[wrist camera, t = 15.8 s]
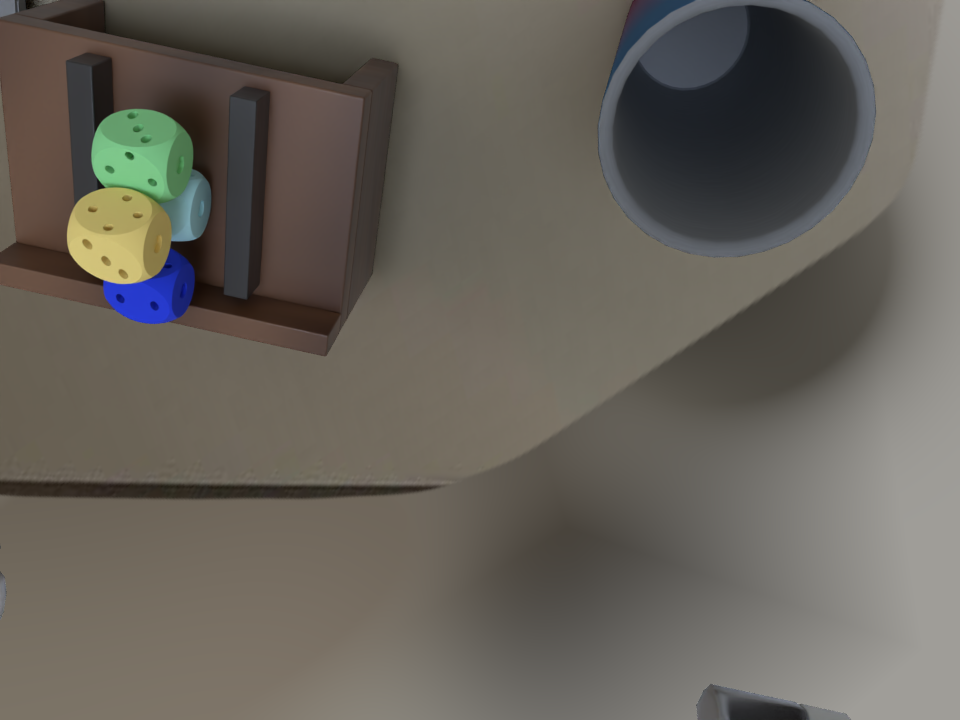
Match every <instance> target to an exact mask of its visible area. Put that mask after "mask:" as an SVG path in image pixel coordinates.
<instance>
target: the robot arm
mask: <svg viewBox="0 0 960 720" xmlns="http://www.w3.org/2000/svg"><path fill="white" fill-rule="evenodd" d="M5 598H6V585H5V577H4V575H3V574H2V573H1V572H0V619H1V617H2V614H3V612H4V605H5ZM696 706H697V717H698V720H851V719H850V718H849V717H848V715H847V714H844V713H840V712H835V711H831V710H826V709H822V708H817V707H813V706H808V705H804V704H797V703H796V702H792V701H787V700H783V699H778V698H773V697H769V696H764V695H759V694H755V693H750V692H745V691H740V690H736V689H731V688H727V687H721V686H717V685H713V684H710V685H709V686H708V687H707V688H706V689H705V690H704V691H703V693H702V695H701V697H700V699H699V701H698V703H697V705H696Z"/></svg>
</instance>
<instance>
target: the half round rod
mask: <svg viewBox="0 0 960 720" xmlns="http://www.w3.org/2000/svg"><path fill="white" fill-rule="evenodd" d="M24 10H26V3H25V0H0V17H3V16H6V15H10V14H14V13H17V12H20V11H24Z"/></svg>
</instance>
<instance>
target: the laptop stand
mask: <svg viewBox="0 0 960 720" xmlns="http://www.w3.org/2000/svg"><path fill="white" fill-rule="evenodd" d="M397 73H398V64H397V63H394V62H389V61H384V60H379V59H375V58H371V59H370V60H369V61H368V62H367V63H366V64H364V65H363V66H362V67H361V68H360V69H359V70H358V71H357V72H355V73H354V74H353V75H352V76H351V77H350V78H349V79H347V80H346V81H345V82H344V83H343V84H339V83H334V82H330V81H325V80H320V79H316V78H311V77H306V76H302V75H297V74H292V73H288V72H283V71H278V70H274V69H269V68H264V67H260V66H255V65H250V64H246V63H241V62H236V61H232V60H227V59H222V58H218V57H213V56H208V55H204V54H199V53H194V52H190V51H185V50H180V49H176V48H171V47H166V46H162V45H157V44H152V43H147V42H143V41H138V40H133V39H129V38H124V37H119V36H115V35H110V34H105V18H104V1H102V0H60V1H56V2H52V3H49V4H45V5H42V6H38V7H34V8H31V9H27V10H24V11H20V12H17V13H14V14H10V15H6V16H3V17H0V81H1V91H2V101H3V111H4V122H5V132H6V142H7V152H8V162H9V172H10V182H11V192H12V202H13V212H14V222H15V232H16V242H17V243H14V244H12V245H11V246H9V247H8V248H6V249H5V250H3V251H2V252H0V285H4V286H9V287H13V288H18V289H22V290H27V291H31V292H36V293H40V294H45V295H49V296H54V297H58V298H63V299H68V300H72V301H77V302H81V303H86V304H90V305H95V306H99V307H104V308H108V309H113V310H115V309H114V308H113V307H112V306H111V305H110V304H109V302H108V301H107V300H106V298H105V295H104V290H103V281H104V280H102V279H100V278H98V277H96V276H94V275H92V274H90V273H89V272H87V271H86V270H84V269H83V268H82V267H81V266H80V265H78V263H77V262H76V261H75V260H74V259H73V257H72V256H71V254H70V252H69V249H68V244H67V229H68V223H69V219H70V216H71V213H72V211H73V209H74V207H75V205H76V204H77V202H78V201H79V200H80V199H81V198H83V197H84V196H86V195H87V194H89V193H91V192H94V191H96V190H100V189H104V188H105V187H104V186H103V185H102V183H101V182H100V181H99V179H98V178H97V177H96V175H95V173H94V170H93V167H92V157H91V154H92V144H93V139H94V136H95V133H96V130H97V128H98V126H99V125H100V123H101V122H102V121H103V120H104V119H105V118H106V117H108V116H110V115H111V114H113V113H116V112H119V111H123V110H129V109H146V110H153V111H157V112H160V113H163V114H165V115H167V116H168V117H170V118H172V119H173V120H175V121H176V122H177V123H178V124H180V125H181V126H182V127H183V128H184V130H185V131H186V132H187V133H188V135H189V136H190V138H191V141H192V145H193V165H192V169H193V170H196V171H198V172H200V173H201V174H202V175H203V176H204V177H205V178H206V180H207V181H208V182H209V185H210V189H211V209H210V215H209V219H208V223H207V225H206V228H205V230H204V232H203V234H202V235H201V236H200V237H199V238H197V239H195V240H191V241H171V245H170V248H171V249H173V250H175V251H177V252H178V253H180V254H181V255H182V256H183V257H185V258H186V259H187V260H188V261H189V263H190V264H191V265H192V267H193V269H194V274H195V284H194V291H193V295H192V299H191V302H190V304H189V306H188V308H187V310H186V312H185V313H184V314H183V315H182V316H181V317H179V318H177V319H175V320H173V321H170V322H172V323H176V324H181V325H185V326H190V327H194V328H199V329H203V330H208V331H213V332H217V333H222V334H226V335H231V336H235V337H240V338H244V339H249V340H253V341H258V342H262V343H267V344H271V345H276V346H280V347H285V348H290V349H294V350H299V351H303V352H308V353H312V354H317V355H321V356H326V355H327V354H328V352H329V350H330V348H331V347H332V345H333V343H334V341H335V340H336V338H337V336H338V334H339V332H340V330H341V328H342V327H343V325H344V323H345V321H346V319H347V318H348V316H349V314H350V312H351V311H352V309H353V307H354V305H355V304H356V302H357V300H358V298H359V296H360V295H361V293H362V291H363V289H364V288H365V286H366V284H367V282H368V280H369V279H370V277H371V275H372V271H373V263H374V255H375V247H376V239H377V231H378V223H379V215H380V208H381V200H382V192H383V184H384V176H385V168H386V160H387V152H388V144H389V136H390V128H391V120H392V112H393V104H394V97H395V89H396V81H397Z"/></svg>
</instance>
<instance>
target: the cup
mask: <svg viewBox="0 0 960 720" xmlns="http://www.w3.org/2000/svg"><path fill="white" fill-rule="evenodd" d="M875 117H876V107H875V94H874V85H873V82H872V78H871V75H870V72H869V69H868V65H867V62H866V60H865V58H864V56H863V54H862V53H861V51H860V49H859V48H858V46H857V44H856V42H855V41H854V39H853V37H852V36H851V35H850V34H849V33H848V32H847V31H846V30H845V29H844V28H843V27H842V26H841V25H840V24H839V23H838V21H837V20H836V19H835V18H834V17H832V16H831V15H829V14H828V13H826V12H825V11H823V10H821V9H820V8H818V7H817V6H815V5H814V4H812V3H811V2H808V1H806V0H634V1H633V2H632V5H631V8H630V10H629V13H628V16H627V19H626V22H625V26H624V29H623V33H622V36H621V39H620V43H619V46H618V50H617V53H616V56H615V60H614V63H613V67H612V70H611V73H610V77H609V80H608V84H607V87H606V90H605V94H604V97H603V101H602V106H601V112H600V117H599V123H598V153H599V158H600V162H601V166H602V171H603V175H604V178H605V180H606V182H607V185H608V187H609V189H610V191H611V193H612V195H613V198H614V199H615V201H616V202H617V203H618V205H619V206H620V207H621V209H622V210H623V212H624V213H625V214H626V216H627V217H628V218H629V219H630V220H631V221H632V222H633V223H635V224H636V225H637V226H638V227H639V228H640V229H641V230H642V231H644V232H645V233H646V234H647V235H649V236H651V237H653V238H654V239H656V240H658V241H659V242H661V243H663V244H665V245H666V246H669V247H672V248H675V249H678V250H680V251H683V252H686V253H689V254H695V255H701V256H708V257H740V256H745V255H750V254H755V253H760V252H765V251H767V250H770V249H772V248H775V247H777V246H780V245H783V244H785V243H788V242H790V241H792V240H793V239H795V238H797V237H798V236H800V235H802V234H803V233H805V232H807V231H808V230H810V229H812V228H813V227H814V226H815V225H816V224H818V223H819V222H820V221H821V220H822V219H823V218H825V217H826V216H827V215H828V214H829V213H831V212H832V211H833V210H834V208H835V207H836V206H837V205H838V204H839V202H840V201H841V200H842V199H843V198H844V196H845V195H846V194H847V193H848V192H849V190H850V189H851V187H852V185H853V184H854V182H855V180H856V178H857V177H858V175H859V173H860V171H861V169H862V168H863V166H864V163H865V160H866V157H867V154H868V151H869V148H870V146H871V143H872V140H873V132H874V124H875Z"/></svg>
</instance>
